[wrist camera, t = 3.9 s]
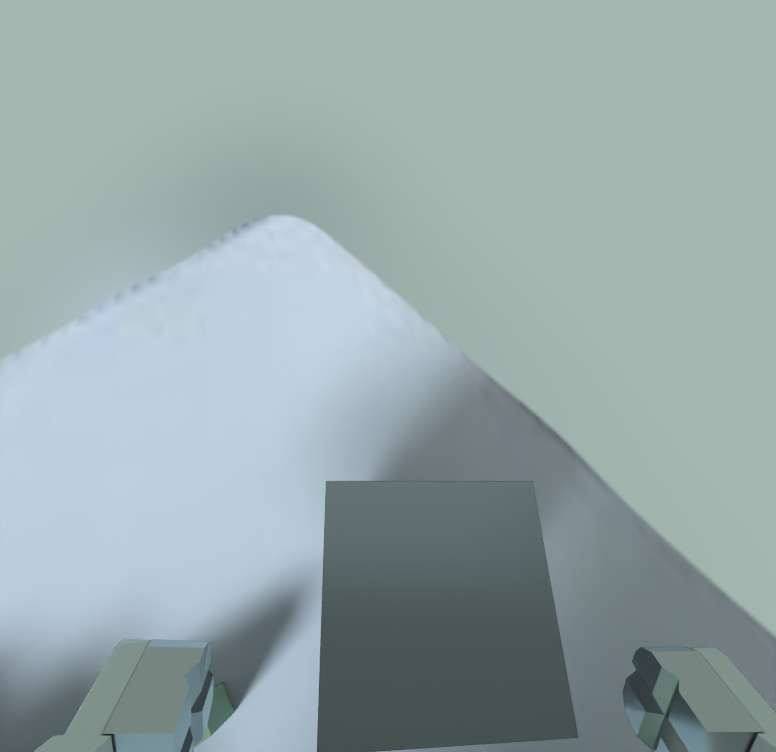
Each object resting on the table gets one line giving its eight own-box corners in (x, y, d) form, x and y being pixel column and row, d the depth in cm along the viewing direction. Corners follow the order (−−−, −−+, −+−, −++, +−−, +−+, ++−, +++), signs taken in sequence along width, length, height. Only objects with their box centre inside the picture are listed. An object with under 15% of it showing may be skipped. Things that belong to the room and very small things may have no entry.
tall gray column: (446, 675, 17) (578, 737, 8) (323, 680, 16) (316, 755, 7) (437, 545, 19) (532, 481, 10) (327, 547, 18) (326, 481, 10)
